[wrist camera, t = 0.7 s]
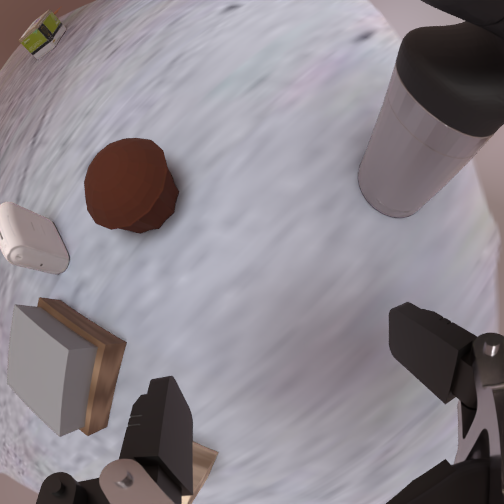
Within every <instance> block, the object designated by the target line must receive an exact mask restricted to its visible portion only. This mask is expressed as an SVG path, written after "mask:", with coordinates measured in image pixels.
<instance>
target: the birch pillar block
mask: <svg viewBox="0 0 504 504" xmlns="http://www.w3.org/2000/svg"><path fill="white" fill-rule="evenodd" d="M217 455H218V452H216V451H214V450H212V449H209V448H207V447H204V446H202V445H200V444H198V443H195V442H193V495H191V496H182V504H191V503H192V502H193V500H194V499H195V497H196V496H197V494H198V493H199V491H200V489H201V488H202V486H203V485H204V483H205V481H206V480H207V478H208V476H209V473H210V471H211V469H212V466H213V464H214V462H215V459H216V457H217Z"/></svg>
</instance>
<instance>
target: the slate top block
mask: <svg viewBox="0 0 504 504" xmlns="http://www.w3.org/2000/svg"><path fill="white" fill-rule="evenodd" d="M97 349H98V347H97V346H95V345H94V344H92V343H91V342H89V341H87V340H86V339H84V338H83V337H81V336H80V335H78V334H77V333H75V332H74V331H72V330H71V329H70V328H68V327H67V326H65V325H64V324H63V323H61V322H60V321H58V320H57V319H56V318H54V317H53V316H52V315H50V314H49V313H48V312H46V311H45V310H44V309H42V308H41V307H33V306H24V305H14V311H13V317H12V324H11V332H10V341H9V352H8V368H7V384H8V385H9V386H10V387H11V389H12V390H13V391H14V392H15V393H16V394H17V395H18V397H19V398H20V399H21V400H22V401H23V402H24V403H25V404H26V405H27V406H28V407H29V408H30V409H31V410H32V411H33V412H34V413H35V414H36V415H37V416H38V417H39V418H40V419H41V420H42V421H43V422H44V423H45V424H46V425H47V426H48V427H49V428H50V429H51V430H53V431H54V432H55V433H56V434H57V435H58V436H59V437H61V436H63V435H66V434H68V433H71V432H73V431H75V430H78V429H80V428H83V427H85V420H86V412H87V404H88V397H89V391H90V385H91V379H92V373H93V368H94V363H95V358H96V353H97Z"/></svg>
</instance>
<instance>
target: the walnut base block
mask: <svg viewBox="0 0 504 504" xmlns="http://www.w3.org/2000/svg"><path fill="white" fill-rule="evenodd" d="M37 307H41V308H42V309H44V310H45V311H46V312H48V313H49V314H50V315H52V316H53V317H54V318H56V319H57V320H58V321H60V322H61V323H63V324H64V325H65V326H67V327H68V328H70V329H71V330H72V331H74V332H75V333H77V334H78V335H80V336H81V337H83V338H84V339H86V340H87V341H89V342H91V343H92V344H94V345H95V346H97V347H98V349H97V353H96V358H95V363H94V368H93V373H92V379H91V385H90V391H89V397H88V404H87V412H86V420H85V427H83V428H80V429H79V430H81V431H82V432H83V433H85V434H86V435H87V436H89V435H91V434H93V433H95V432H98V431H100V430H102V429H104V428H106V427H107V425H108V419H109V414H110V409H111V405H112V400H113V395H114V391H115V386H116V382H117V378H118V374H119V370H120V366H121V362H122V358H123V354H124V350H125V347H126V343H127V342H125V341H123V340H121V339H120V338H118V337H116V336H115V335H113V334H111V333H110V332H108V331H106V330H105V329H103V328H101V327H100V326H98V325H97V324H95V323H93V322H92V321H90V320H89V319H87V318H86V317H84V316H83V315H81V314H80V313H78V312H77V311H75V310H74V309H72V308H71V307H69V306H68V305H66V304H65V303H64V302H62V301H61V300H56V299H48V298H41V297H39V301H38V306H37Z"/></svg>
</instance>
